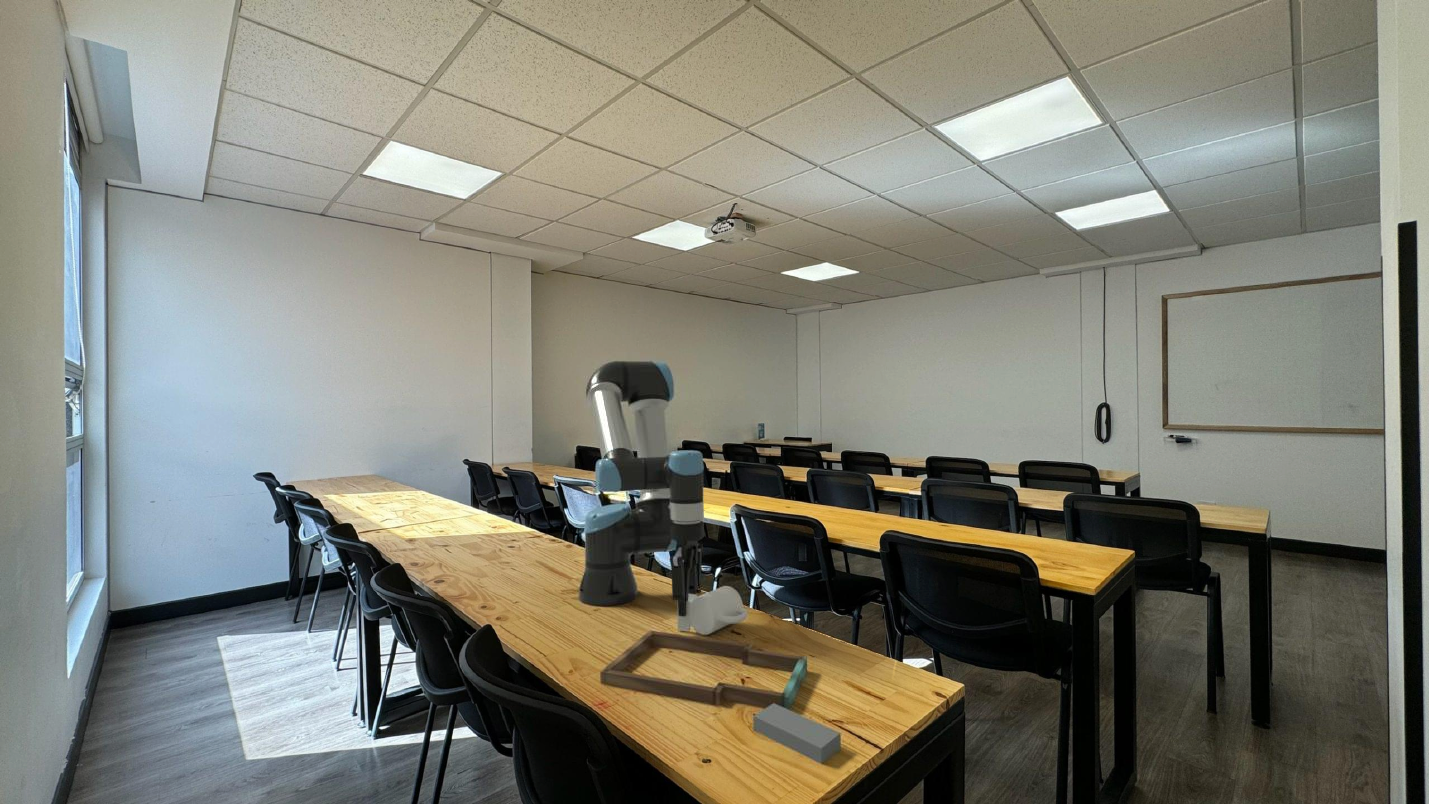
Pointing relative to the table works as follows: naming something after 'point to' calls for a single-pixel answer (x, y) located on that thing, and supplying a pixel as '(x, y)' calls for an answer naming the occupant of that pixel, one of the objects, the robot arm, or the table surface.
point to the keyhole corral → (699, 692)
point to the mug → (716, 610)
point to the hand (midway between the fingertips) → (687, 626)
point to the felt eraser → (797, 732)
